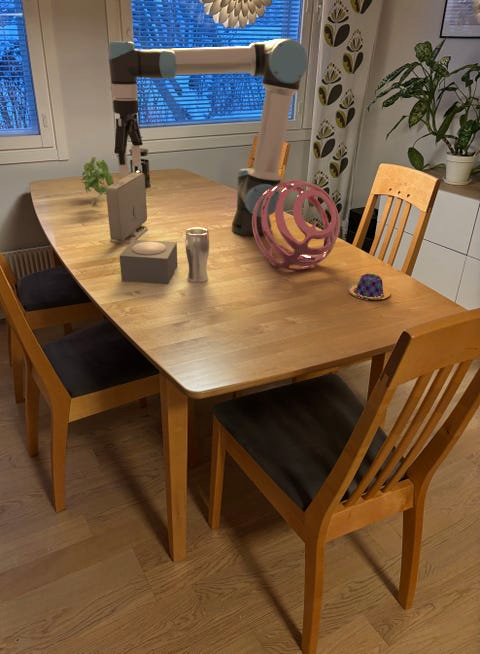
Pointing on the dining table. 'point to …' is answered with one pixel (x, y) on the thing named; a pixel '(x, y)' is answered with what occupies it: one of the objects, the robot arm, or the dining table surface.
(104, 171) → the plant cuttings
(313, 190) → the spiral basket
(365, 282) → the sun hat
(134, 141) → the robot arm
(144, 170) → the french press
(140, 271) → the plate
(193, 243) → the beer glass
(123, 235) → the network device
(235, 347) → the dining table surface
